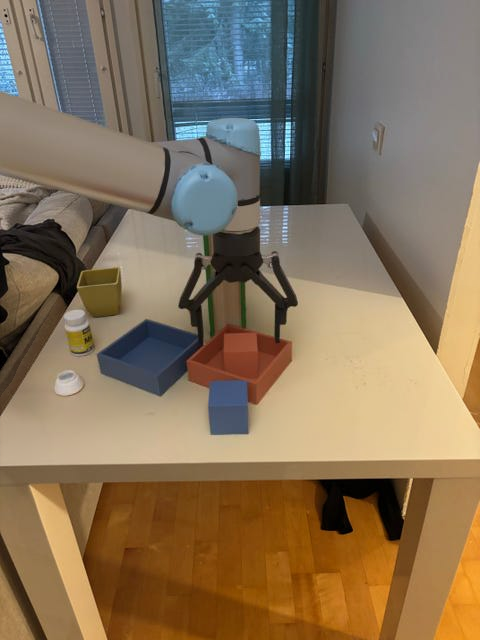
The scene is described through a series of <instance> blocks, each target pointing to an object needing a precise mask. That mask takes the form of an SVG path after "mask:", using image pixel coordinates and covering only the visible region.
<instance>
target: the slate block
mask: <svg viewBox="0 0 480 640" xmlns="http://www.w3.org/2000/svg"><path fill="white" fill-rule="evenodd" d="M207 403H208V404H207V410H208V411H207V412H208V421H209V422H208V423H209V433H210V436H216V435H217V436H218V435H219V436H220V435H221V436H223V435H249V404H248V403H249V402H248V397H247V380H237V381H210V388H208V401H207Z"/></svg>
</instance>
